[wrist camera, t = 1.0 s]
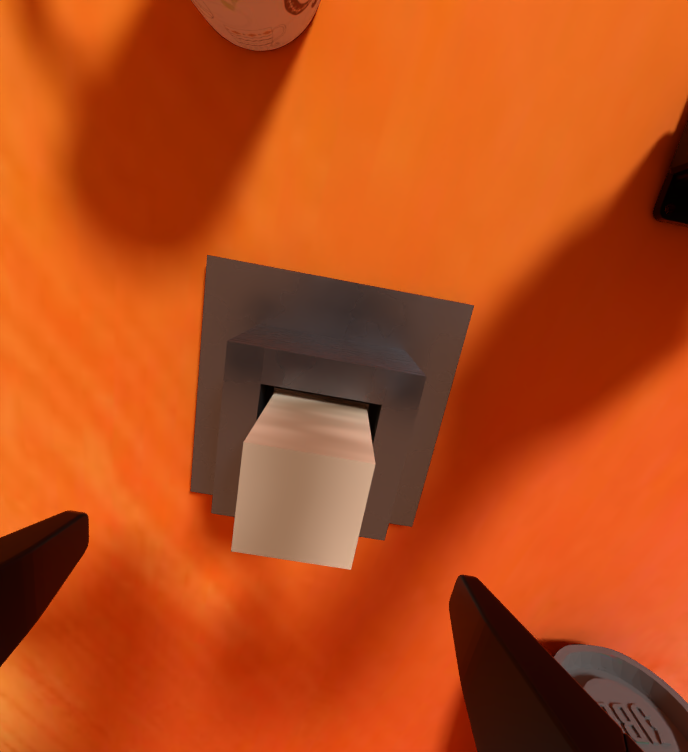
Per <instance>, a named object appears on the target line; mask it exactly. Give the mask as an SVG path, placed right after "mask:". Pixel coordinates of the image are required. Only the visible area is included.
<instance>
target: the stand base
mask: <svg viewBox="0 0 688 752" xmlns="http://www.w3.org/2000/svg"><path fill="white" fill-rule="evenodd" d="M473 308H474V305H469V304H464V303H459V302H453V301H448V300H443V299H438V298H432V297H427V296H422V295H417V294H411V293H406V292H401V291H395V290H390V289H385V288H380V287H374V286H369V285H364V284H358V283H353V282H348V281H343V280H337V279H332V278H327V277H321V276H316V275H311V274H306V273H300V272H295V271H290V270H284V269H279V268H274V267H269V266H263V265H258V264H253V263H247V262H242V261H237V260H232V259H226V258H221V257H216V256H210V255H207V265H206V280H205V294H204V308H203V322H202V336H201V350H200V365H199V379H198V393H197V407H196V421H195V435H194V450H193V464H192V478H191V491H192V492H198V493H204V494H210V495H213V499H212V510H211V513H213V514H219V515H226V516H232V517H235V512H236V503H237V495H238V486H239V477H240V468H241V459H242V451H243V442H244V440H245V439H246V437H247V436H248V434H249V432H250V431H251V429H252V428H253V426H254V424H255V423H256V421H257V420H258V418H259V417H260V415H261V413H262V412H263V410H264V409H265V407H266V405H267V404H268V402H269V401H270V399H271V397H272V396H273V392H274V387H275V386H276V387H282V388H288V389H294V390H299V391H305V392H311V393H317V394H322V395H328V396H334V397H339V398H345V399H351V400H357V401H362V402H368V403H369V407H368V411H367V413H368V419H369V426H370V432H371V439H372V445H373V451H374V458H375V468H374V473H373V477H372V481H371V486H370V490H369V494H368V499H367V503H366V507H365V511H364V516H363V520H362V524H361V529H360V533H359V537H365V538H372V539H378V540H385V536H386V532H387V529H388V525H389V523H392V524H398V525H404V526H410V527H412V525H413V522H414V518H415V515H416V511H417V508H418V504H419V500H420V497H421V493H422V490H423V486H424V483H425V479H426V475H427V472H428V468H429V465H430V461H431V458H432V454H433V450H434V447H435V443H436V440H437V436H438V433H439V429H440V425H441V422H442V418H443V415H444V411H445V408H446V404H447V400H448V397H449V393H450V390H451V386H452V383H453V379H454V375H455V372H456V368H457V365H458V361H459V358H460V354H461V350H462V347H463V343H464V340H465V336H466V333H467V329H468V325H469V322H470V318H471V315H472V311H473Z"/></svg>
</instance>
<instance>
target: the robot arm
mask: <svg viewBox="0 0 688 752" xmlns="http://www.w3.org/2000/svg"><path fill="white" fill-rule="evenodd" d="M666 206H668V208H669V209H668V212H667V213H666V212H665V208H666ZM653 215H654V218H655V219H656V220H658V221H662V222H667V223H672V224H677V225H681V226H686V227H688V121H687V124H686V127H685V129H684V132H683V134H682V137H681V139H680V142H679V144H678V147H677V150H676V152H675V155H674V157H673V160H672V162H671V165H670V168H669V171H668V173H667V176H666V179H665V181H664V184H663V186H662V189H661V191H660V194H659V197H658V199H657V202H656V204H655V207H654V210H653ZM88 543H89V519H88V515H87V514H86V513H83V512H77V511H65V512H62V513H60V514H57V515H55V516H52V517H50V518H48V519H45V520H43V521H40V522H38V523H35V524H33V525H30V526H28V527H25V528H23V529H21V530H18V531H16V532H13V533H11V534H8V535H6V536H3V537H1V538H0V667H1V665H2V664H3V663H4V662H5V661H6V659H7V658H8V657H9V656H10V654H11V653H12V652H13V651H14V649H15V648H16V647H17V646H18V645H19V643H20V642H21V641H22V640H23V638H24V637H25V636H26V635H27V633H28V632H29V631H30V630H31V628H32V627H33V626H34V625H35V623H36V622H37V621H38V619H39V618H40V617H41V615H42V614H43V612H44V611H45V610H46V608H47V607H48V605H49V604H50V602H51V601H52V599H53V598H54V597H55V595H56V594H57V592H58V591H59V589H60V588H61V586H62V585H63V583H64V582H65V581H66V579H67V578H68V576H69V575H70V573H71V572H72V570H73V569H74V567H75V566H76V564H77V563H78V562H79V560H80V559H81V557H82V556H83V554H84V553H85V551H86V549H87V546H88ZM449 612H450V619H451V625H452V632H453V638H454V644H455V651H456V657H457V664H458V670H459V676H460V681H461V686H462V691H463V695H464V699H465V704H466V708H467V712H468V716H469V720H470V724H471V728H472V732H473V736H474V740H475V744H476V748H477V752H644V751H643V750H642V749H641V748H640V747H639V746H638V745H637V744H636V743H635V742H634V741H633V740H632V738H631V737H630V736H629V735H628V734H626V733H623V730H622V728H621V727H620V726H619V725H618V724H617V723H616V722H615V721H614V720H613V719H612V718H611V717H610V716H609V715H608V714H607V713H606V712H605V711H604V709H603V708H602V707H601V706H600V705H599V704H598V703H597V702H596V701H595V700H594V699H593V698H592V697H591V696H590V695H589V694H588V693H587V692H586V691H585V690H584V689H583V688H582V687H581V685H580V684H579V683H578V682H577V681H576V680H575V679H574V678H573V677H572V676H571V675H570V674H569V673H568V672H567V671H566V670H565V669H564V668H563V667H562V666H561V665H560V664H559V663H558V662H557V660H556V659H555V658H554V657H553V656H552V655H551V654H550V653H549V652H548V651H547V650H546V649H545V648H544V647H543V646H542V645H541V644H540V643H539V642H538V641H537V640H536V639H535V638H534V636H533V635H532V634H531V633H530V632H529V631H528V630H527V629H526V628H525V627H524V626H523V625H522V624H521V623H520V622H519V621H518V620H517V619H516V618H515V617H514V616H513V615H512V614H511V613H510V611H509V610H508V609H507V608H506V607H505V606H504V605H503V604H502V603H501V602H500V601H499V600H498V599H497V598H496V597H495V596H494V595H493V594H492V593H491V592H490V591H489V590H488V589H487V587H486V586H485V585H484V584H483V583H482V582H481V581H480V580H479V579H478V578H476V577H474V576H468V575H459V576H458V578H457V580H456V583H455V586H454V589H453V592H452V594H451V597H450V601H449Z"/></svg>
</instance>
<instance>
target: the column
mask: <svg viewBox="0 0 688 752" xmlns="http://www.w3.org/2000/svg"><path fill="white" fill-rule="evenodd" d="M368 407H369V403H368V402H362V401H357V400H351V399H345V398H339V397H334V396H328V395H322V394H317V393H311V392H305V391H299V390H294V389H288V388H282V387H276V386H275V387H274V392H273V396H272V397H271V399H270V401H269V402H268V404H267V405H266V407H265V409H264V410H263V412H262V413H261V415H260V417H259V418H258V420H257V421H256V423H255V424H254V426H253V428H252V429H251V431H250V432H249V434H248V436H247V437H246V439H245V440H244V442H243V451H242V459H241V468H240V477H239V486H238V495H237V503H236V512H235V521H234V530H233V539H232V548H231V551H233V552H239V553H246V554H252V555H259V556H265V557H272V558H278V559H285V560H291V561H298V562H304V563H311V564H317V565H324V566H330V567H337V568H343V569H350V570H351V567H352V563H353V559H354V555H355V550H356V546H357V542H358V537H359V533H360V529H361V524H362V520H363V516H364V511H365V507H366V503H367V499H368V494H369V490H370V486H371V481H372V477H373V473H374V468H375V458H374V451H373V445H372V439H371V432H370V426H369V419H368V413H367V411H368Z"/></svg>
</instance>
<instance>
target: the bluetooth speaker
mask: <svg viewBox="0 0 688 752" xmlns="http://www.w3.org/2000/svg"><path fill="white" fill-rule="evenodd" d="M554 658H555V659H556V660H557V662H558V663H559V664H560V665H561V666H562V667H563V668H564V669H565V670H566V671H567V672H568V673H569V674H570V675H571V676H572V677H573V678H574V679H575V680H576V681H577V682H578V683H579V684H580V685H581V687H582V688H583V689H584V690H585V691H586V692H587V693H588V694H589V695H590V696H591V697H592V698H593V699H594V700H595V701H596V702H597V703H598V704H599V705H600V706H601V707H602V708H603V709H604V711H605V712H606V713H607V714H608V715H609V716H610V717H611V718H612V719H613V720H614V721H615V722H616V723H617V724H618V725H619V726H620V727H621V728H622V730H623V733H626V734H628V735H629V736H630V737H631V738H632V740H633V741H634V742H635V743H636V744H637V745H638V746H639V747H640V748H641V749H642V750H643V751H644V752H688V703H687V702H686V701H685V700H684V699H683V698H682V697H681V696H680V695H679V694H678V693H677V692H676V691H675V690H674V689H672V688H671V687H670V686H669V685H668V684H667V683H666V682H664V681H663V680H662V679H661V678H659V677H658V676H657V675H655V674H654V673H653V672H652V671H650V670H649V669H647V668H646V667H644V666H643V665H641V664H640V663H638V662H636V661H635V660H633V659H631V658H629V657H628V656H626V655H624V654H622V653H619V652H617V651H614V650H612V649H608V648H604V647H599V646H592V645H568V646H565V647H563V648H561V649H560V650H559V651H558V652H557V653H556V655H555V656H554Z"/></svg>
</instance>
